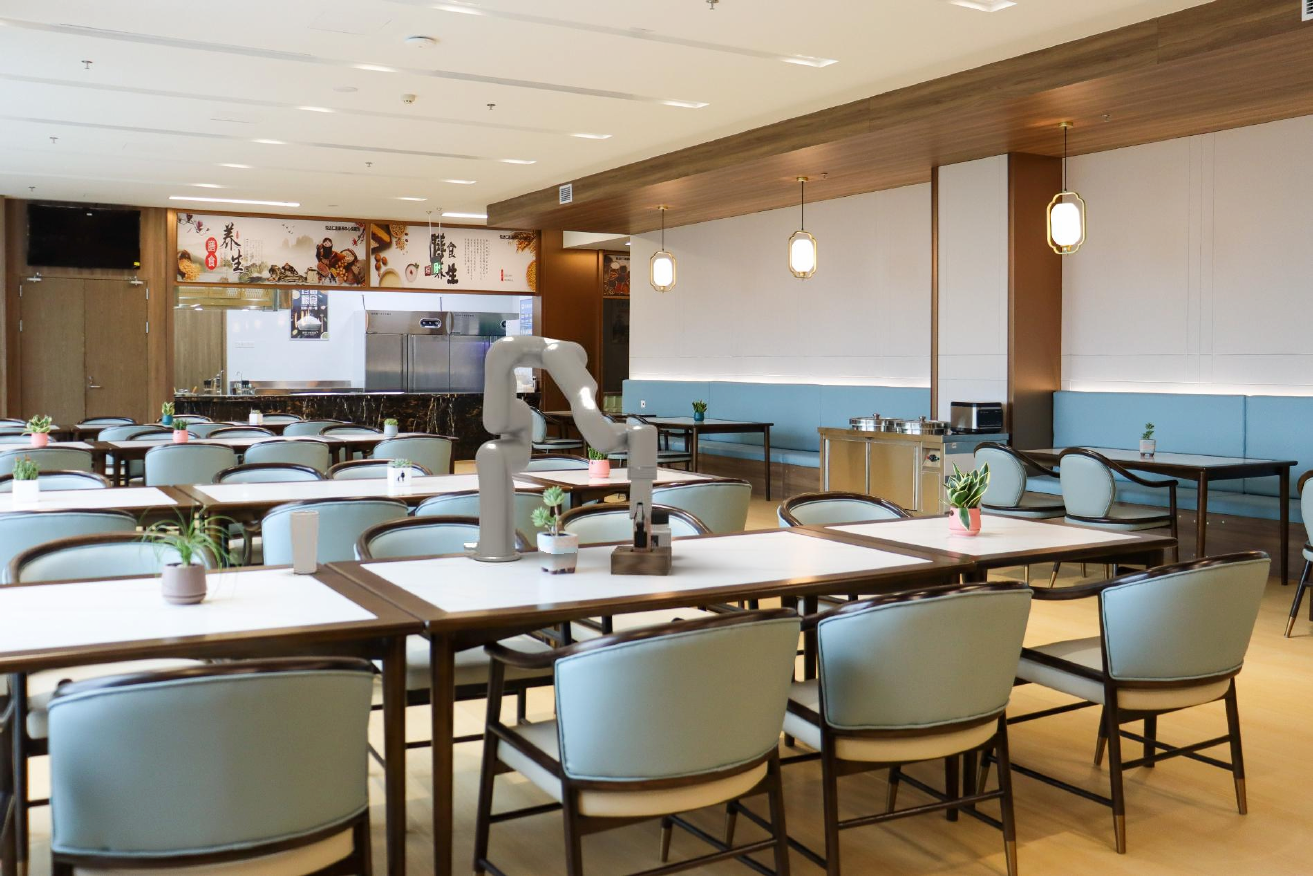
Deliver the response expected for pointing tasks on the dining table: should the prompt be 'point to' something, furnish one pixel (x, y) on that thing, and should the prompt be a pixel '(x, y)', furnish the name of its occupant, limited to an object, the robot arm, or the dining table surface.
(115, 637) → the dining table surface
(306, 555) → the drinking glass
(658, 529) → the container
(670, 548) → the socket block
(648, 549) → the peg
